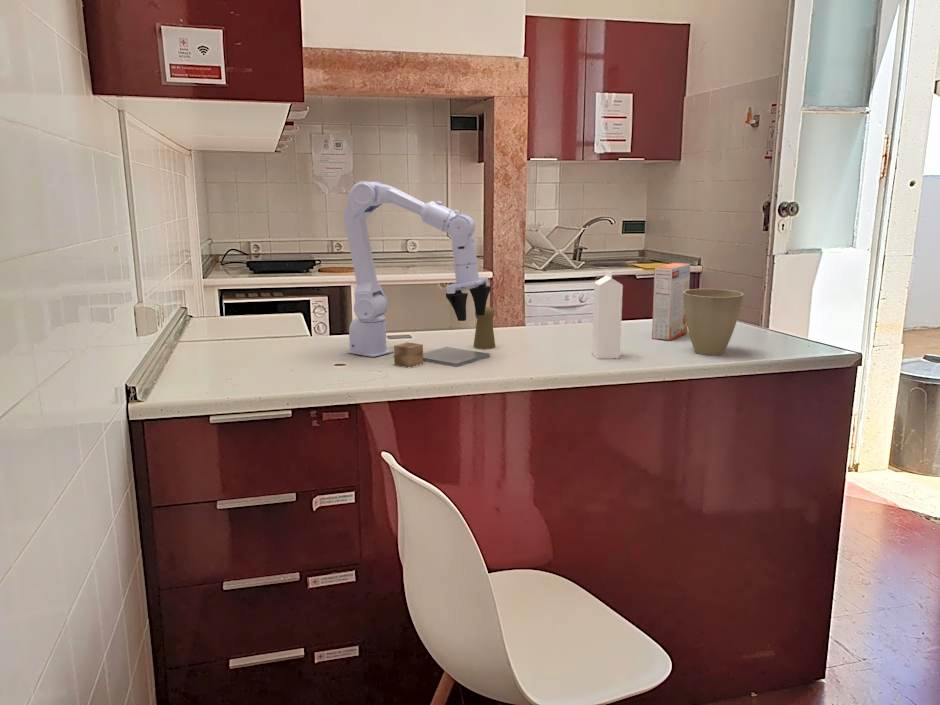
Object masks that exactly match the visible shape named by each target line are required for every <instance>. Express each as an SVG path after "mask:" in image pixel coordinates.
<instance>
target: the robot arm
mask: <svg viewBox="0 0 940 705" xmlns="http://www.w3.org/2000/svg"><path fill="white" fill-rule="evenodd" d="M347 196H348V199H347V202H346V207H345V209H344V213H343V221H344V226H345V230H346V237H347V242H348V245H349V250H350V251H349V252H350V257H351V261H352V265H353V272H354V276H355V281H356V287H355V291H354V299H355V300H354V304H353V312H354V314H355V316H356V318H355V319H353V320H352V321H351V322H350V324H349V330H348V333H349V334H348V335H349V336H348V338H349V350H347V353H348V354H355V355H358V356H359V355H360V356H365V357H370V358H376V357H380V356H383V355H387V354H391V353H394V349H393V350H392V349H387V328H386V327H387V325H386V324H387V320H386V318H387V317H386V316H385V313H386V312H387V310H388V309H389V301H388V298H387V296H386V295H385V294H384V291H383V288H382V287H383V286H382V285H381V284H380V283H379V281H378V279H377V278H378V277H377V273H376V269H375V263H374V258H373V257H374V256H373V253H372V248H371V247H372V246H371V242H370V237H369V233H368V226H367V220H368V218H369V217H370V216H371V214H372V213H373V211H375V210H376V209H378V208H379V207H380V206H382V205H383V204H392V205H394V206H395V205H396V206H398V207H400V208H403V209H405V210H407V211H409V212H413V213H414V214H417V215H419V216H420V218H421V220H422V222H423V223H425V224H427V225H428V226H431V227H433V228H435V229H437V230H439V231H441V232H444V233H447V234H448V235H449V236H450V238H451V244H452V246H451V247H452V255H453V256H452V257H453V258H452V259H453V264H454V267H453V268H454V274H455V282H453V283H451V284H448V285H446V286H445V290H446V291H445V292H446V293H445V298H446V299H447V300H448V302H449V303H450V305H451V306H452V308H453V311H454V313H455V316H456V319H457V321H458V322H459V321H460V322H465V321H467V300H468V295H469V293H468V292H465V293H463V291H467V290H468V291H470V294H471V297H472V300H473V303H474V304H473V305H474V309H475V311H476V314H477V315H484V314H485V308H486V307H487V306H486V305H487V300H488V297H489V294H490V293H491V290H492V289H491V286H490V283H489V277H480V278H479V270H478V269H479V268H478V261H477V260H478V257H477V250H476V243H475V235H474V233H475V230H476V222H475V220H474V218H473V217H471V216H469V214H466V213H461V214H460V211H459V210H458V209H451V208H449V207H447V206H444V205H443V202H442V201H440V200H436V201H434V200H431V201H428V202H426V203H425V202H424V201H421V200H420V199H418V198H417V197H414V196H412V195H410V194H408V193H406V192H404V191H402V190H400V189H399V188H397V187H394V186H391V185H389V184H384V183H382V182H380V181H374V180H373V181H365V180H361V181H358V182H356V183H355V184H354V185H353V186H352V187H351V189H350V190H349V191H348V193H347Z"/></svg>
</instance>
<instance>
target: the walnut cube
mask: <svg viewBox="0 0 940 705" xmlns="http://www.w3.org/2000/svg"><path fill="white" fill-rule="evenodd" d="M423 346H424V344H421V343H414V342H408V341H406V342H403V343H399V344H394V345H393V351H394V352H393V360H394V364H393V365H394V366H397V365H398V366H399V367H402V366H405V367H404V368H408V367H411V368H414V367H413V366H415V367H417V366H416V365H418V366H421V365H420V364H422V365H423V364H424V361H423V353H424V347H423Z"/></svg>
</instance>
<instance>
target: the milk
mask: <svg viewBox="0 0 940 705" xmlns="http://www.w3.org/2000/svg"><path fill="white" fill-rule="evenodd" d="M612 277H613V274H612V271H609V270H608V269H606V270H605V275H604V276H603V277H601V278H600V279H597V280H596V281H594V284H593V285H594V287H593V314H592V341H591V342H592V343H591V344H592V345H591V347H592V348H591V354H592V355H593V356H594V358H596V359H597V360H598V359H600V360H603V359H604V360H605V359H607V360H608V359H613V358H616V359H621V358H620V357H621V337H622V336H621V335H622V314H623V313H622V312H623V311H622V310H623V289H624V285H623V284H622V283H620V282H619V281H617V280H615V279H614V278H612ZM613 360H614V359H613Z"/></svg>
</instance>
